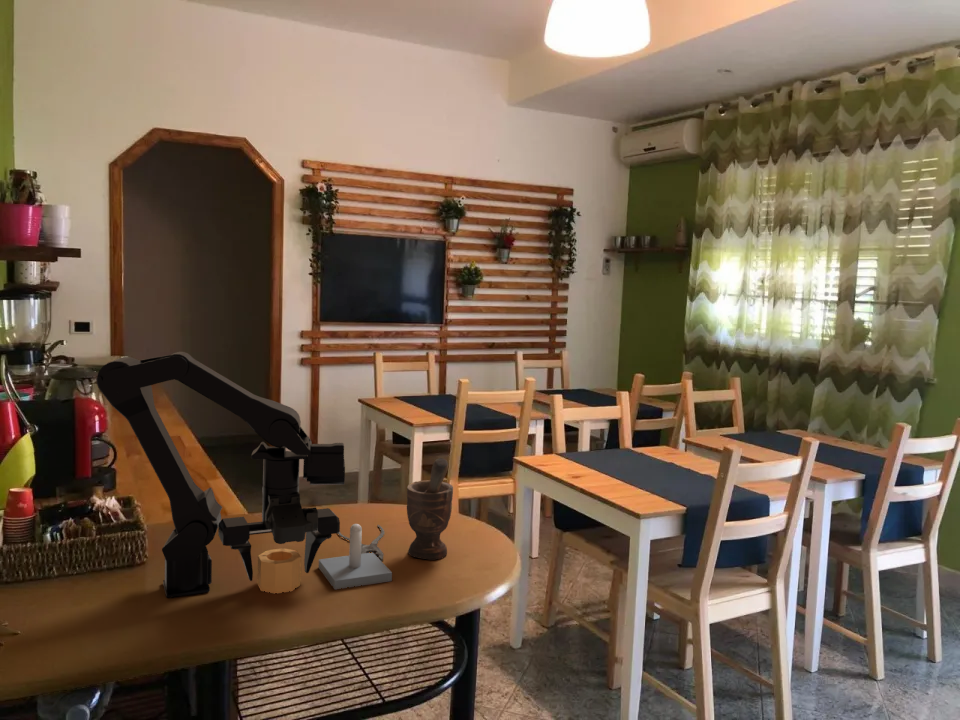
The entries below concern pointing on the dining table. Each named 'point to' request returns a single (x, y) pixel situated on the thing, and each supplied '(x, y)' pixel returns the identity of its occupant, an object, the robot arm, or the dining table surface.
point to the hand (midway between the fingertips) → (279, 576)
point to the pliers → (372, 546)
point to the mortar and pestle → (429, 512)
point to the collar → (279, 570)
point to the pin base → (353, 574)
